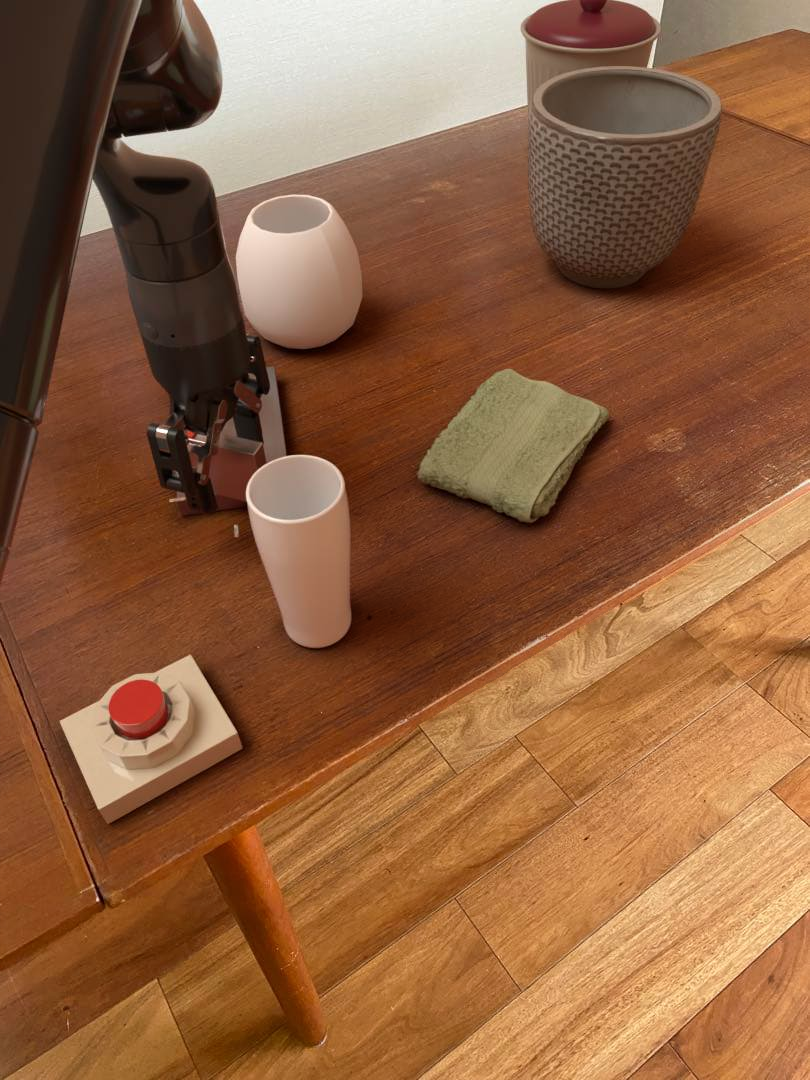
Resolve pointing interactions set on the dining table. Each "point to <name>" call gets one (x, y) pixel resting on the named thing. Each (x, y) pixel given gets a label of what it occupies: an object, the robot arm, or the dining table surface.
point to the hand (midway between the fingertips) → (229, 476)
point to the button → (138, 709)
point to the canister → (585, 38)
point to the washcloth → (513, 445)
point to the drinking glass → (304, 544)
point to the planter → (617, 168)
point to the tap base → (272, 444)
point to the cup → (298, 272)
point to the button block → (151, 742)
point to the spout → (231, 464)
